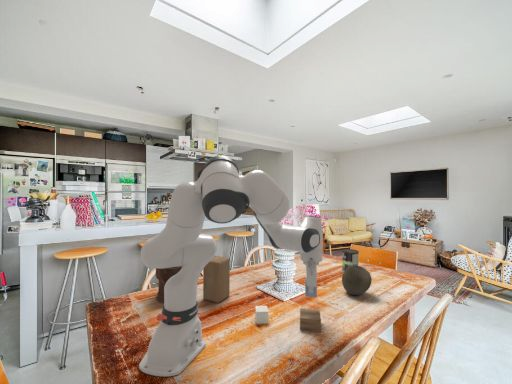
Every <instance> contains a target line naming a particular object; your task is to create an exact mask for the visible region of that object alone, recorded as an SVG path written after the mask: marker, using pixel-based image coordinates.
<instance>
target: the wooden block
mask: <svg viewBox="0 0 512 384" xmlns="http://www.w3.org/2000/svg"><path fill="white" fill-rule="evenodd" d="M230 263H231V261H230V257H225V256H220V255H219V256H218V255H215V256H214V258H213V259H212V260H211V261H210V262H209V263H208V264H207V265H206V266H205V267H204V269H203V270H202V271H203V272H202V273H203V274H202V275H203V279H202V280H203V281H202V283H203V286H202V287H203V288H202V291H203V293H202V294H203V295H202V296H203V297H202V298H203V300H206V301H210V302H214V303H217V304H218V303H221V302H222V301H224V300H225V299H226V298H228V297H229V296H230V285H231V284H230V278H231V277H230V273H231V272H230V269H231V268H230V267H231V264H230Z"/></svg>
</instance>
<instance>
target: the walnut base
mask: <svg viewBox="0 0 512 384" xmlns="http://www.w3.org/2000/svg"><path fill="white" fill-rule="evenodd" d="M321 330H322V317H321V311H320V309H310V308H302V307H300V309H299V331H304V332H313V333H322V331H321Z"/></svg>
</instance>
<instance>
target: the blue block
mask: <svg viewBox="0 0 512 384" xmlns="http://www.w3.org/2000/svg"><path fill="white" fill-rule="evenodd" d="M304 279H305V281H304V285H305V286H304V290H305V291H304V294H305V295H304V297H306V298H309V297H310V298H317V297H318V295H317V293H318V290H317V289H318V285H317V286H316V287H314V288H313V293H309V287H307V284H306V277H305V278H304Z"/></svg>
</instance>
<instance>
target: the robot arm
mask: <svg viewBox="0 0 512 384" xmlns="http://www.w3.org/2000/svg"><path fill="white" fill-rule="evenodd" d="M249 208H250V209H251V210H252V211H253V212H254V217H255V219H256V221H257V222H258V224H259V225H260V227H261V229H262V230H263V231H264V233H265V234H266V235H267V237H268V239H269V242H270V244H271V246H272V247H273V248H274V249H280V250H288V251H292V252H299V260H301V262H302V263H303V265H305V275H306V276H305V278H306V284H307V287H309V293H313V288H314V287H316V286H317V287H318V285H317V284H318V281H317V280H318V279H317V278H318V274H317V273H318V269H317V268H318V267H317V266H319V265H320V263H321V262H323V246H322V243H323V236H324V235H323V223H322V219H321V218H320V217H318V216H313V215H302V217H301V221H300V224H299V225H295V224H294V225H293V224H285V223H280V222H281V221H283V220H284V219H285V218H286V216H287V215H288V213H289V210H290V201H289V197H288V196H287V194H286V193H285V191H284V190H283V189H282V187H281V186H280V185H279V184H278V182H276V180H274V179H273V178H272V177H271V176H270V174H268V173H266V172H265V171H263V170H260V169H252V170H250V171H249V172H247V173H246V174H244V175H240V174H239V168H238V166H237V164H236V162H235V161H234V160H233V159H232V158H231V157H229V156H226V155H216V156H213V157H211V158H210V159H209V160H208V161H207V162H206V163H205V164H204V166H203V167H202V169H200V170H199V171H198V172H197V180H196V181H184V182H180V183H179V184H178V185H176V187H175V188H174V189H173V191H172V195H171V198H170V201H169V204H168V210H167V218H166V219H167V220H166V223H165V224H166V225H165V227H164V228H163V229H162V230H161V231H160V232H159V233H157V234H155V236H153V237H151V238H148V239H146V241H145V242H144V243H143V244H142V246H141V249H140V260H141V262H142V263H143V265H144V266H145V267H146V268H147V269H148V268H149V269H156V268H159V269H163V268H171V267H179V266H182V268H181V270H180V271H179V272H178V273H177V274H175V275H174V276H172V277H171V278H170V279H169V280H168V281H167V282H166V284H165V286H164V304H163V307H162V310H161V313H158V314H157V315H156V321H159V323H158V326H157V327H156V330H155V331H154V333H153V336H152V337H151V339H150V341H149V344H148V347H147V352H146V353H145V354H144V356H143V357H142V359H141V361H140V362H139V364H138V369H139V370H140V371H141V372H143V374H146V375H150V376H155V377H173V376H177V375H180V374H181V373H182V372H183V371H184V370H185V369H186V368H187V367H188V365H189V364H190V363H191V362H192V361H193V360H194V359H195V358H196V357H197V356H198V355H199V354H200V353H201V352H202V351H203V350H204V348H206V345H207V343H206V341H205V340H204V339H203V333H202V332H203V331H202V321H201V319H200V318H199V316H198V312H199V304H198V299H197V295H198V294H197V293H198V292H197V291H198V282H199V278H200V275H201V273H203V272H202V271H203V269H204V267H205V266H206V265H207V264H208V263H209V262H210V261H211V260H212V259H213V258H214V256H216V253H217V249H218V247H217V242H216V240H215V237H213V236H212V235H211V234H206V233H202V231H203V227H204V222H205V219H207V220H208V221H210V222H212V223H215V224H228V223H231V222H232V221H235V220H237V219H238V218H239V217H241V216H242V215H243V214H245V213H246V212H247V211H248V209H249Z"/></svg>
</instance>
